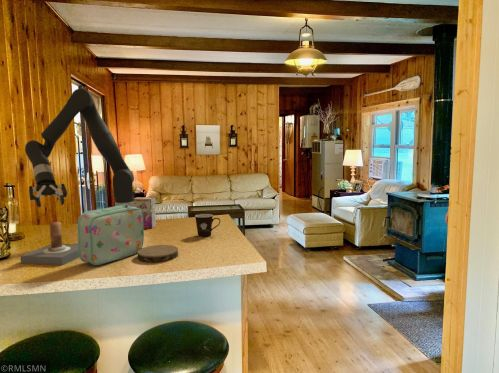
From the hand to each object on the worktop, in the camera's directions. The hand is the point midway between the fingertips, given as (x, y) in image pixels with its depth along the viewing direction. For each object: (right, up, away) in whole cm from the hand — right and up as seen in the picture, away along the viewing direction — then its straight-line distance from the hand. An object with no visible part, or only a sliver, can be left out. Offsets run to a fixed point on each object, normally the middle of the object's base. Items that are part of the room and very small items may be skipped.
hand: (51, 205), depth 157 cm
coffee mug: (+63, -17, +27) cm, 70 cm away
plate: (+6, -21, -6) cm, 22 cm away
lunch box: (+30, -21, -8) cm, 37 cm away
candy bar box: (+26, -15, +48) cm, 57 cm away
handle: (+5, -18, -6) cm, 20 cm away
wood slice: (+47, -21, -7) cm, 52 cm away
